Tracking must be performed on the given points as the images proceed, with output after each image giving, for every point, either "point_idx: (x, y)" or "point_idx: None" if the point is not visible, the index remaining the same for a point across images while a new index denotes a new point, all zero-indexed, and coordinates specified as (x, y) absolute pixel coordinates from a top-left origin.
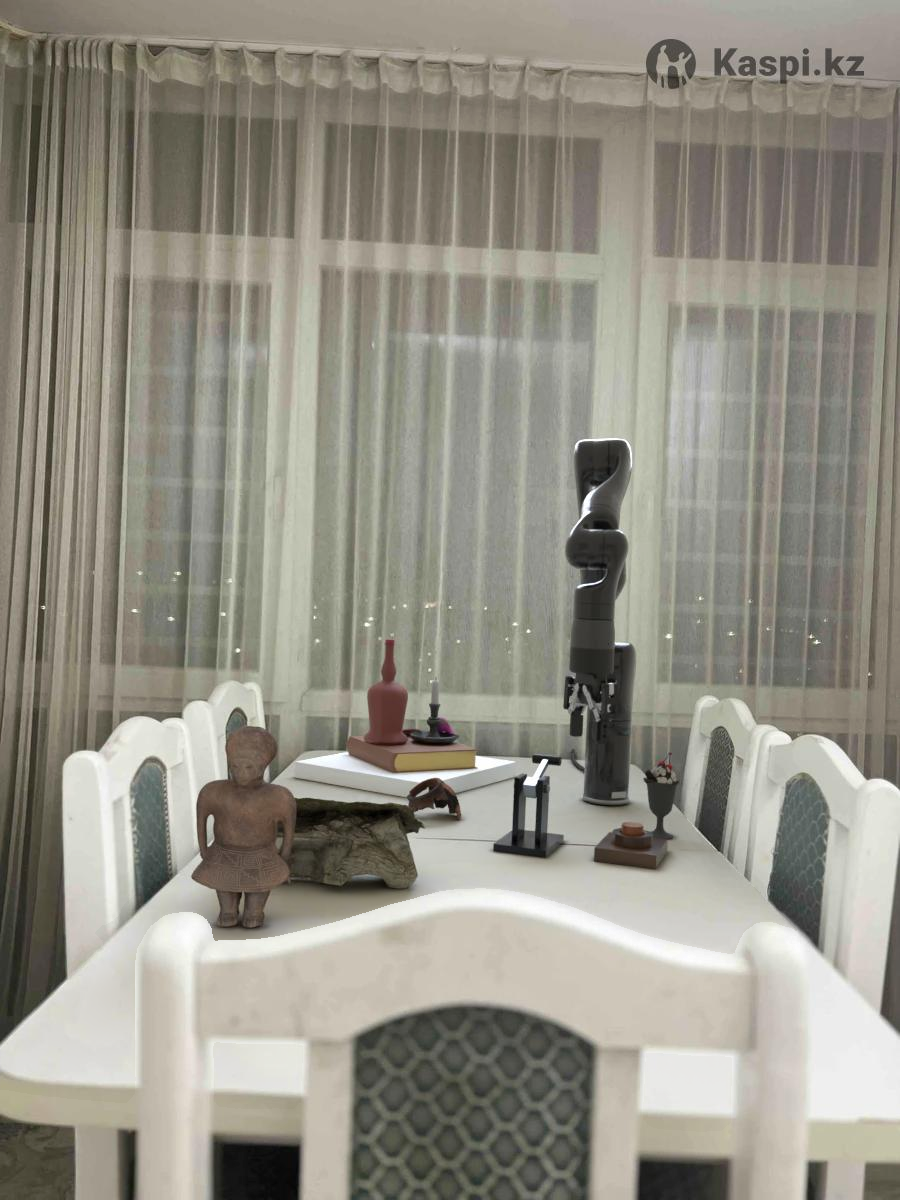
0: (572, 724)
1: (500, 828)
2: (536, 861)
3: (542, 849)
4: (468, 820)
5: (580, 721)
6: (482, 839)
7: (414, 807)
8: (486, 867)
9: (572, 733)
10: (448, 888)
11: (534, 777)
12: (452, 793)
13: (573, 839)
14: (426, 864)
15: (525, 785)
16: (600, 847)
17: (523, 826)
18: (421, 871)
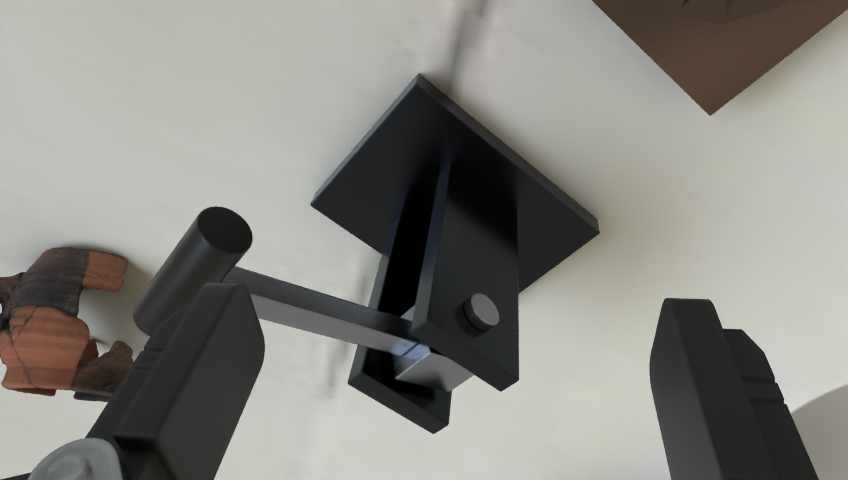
0: (230, 432)
1: (220, 192)
2: (620, 255)
3: (585, 237)
4: (122, 236)
5: (194, 400)
6: (354, 285)
7: None
8: (622, 372)
9: (259, 365)
10: None
11: (416, 364)
12: (83, 333)
13: (387, 14)
14: (552, 447)
15: (456, 385)
16: (722, 94)
17: (411, 242)
18: (598, 467)
